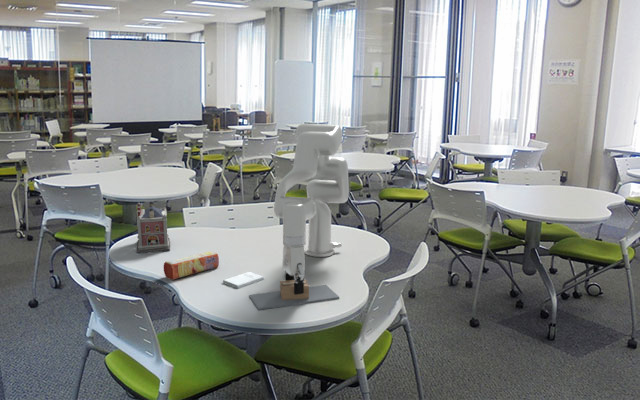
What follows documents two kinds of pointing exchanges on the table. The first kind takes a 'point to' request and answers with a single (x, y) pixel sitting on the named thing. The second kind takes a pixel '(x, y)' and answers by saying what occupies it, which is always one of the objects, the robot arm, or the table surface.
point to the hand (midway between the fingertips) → (294, 288)
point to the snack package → (191, 265)
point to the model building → (152, 230)
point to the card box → (292, 290)
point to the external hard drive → (243, 279)
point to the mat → (275, 299)
